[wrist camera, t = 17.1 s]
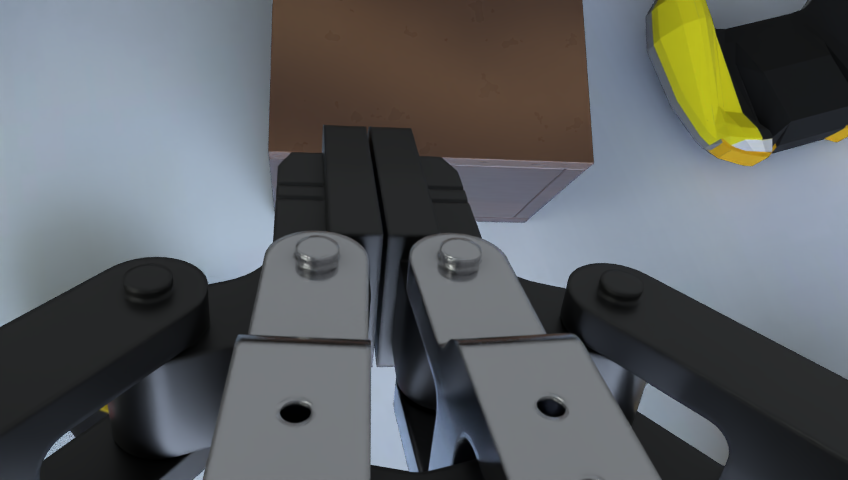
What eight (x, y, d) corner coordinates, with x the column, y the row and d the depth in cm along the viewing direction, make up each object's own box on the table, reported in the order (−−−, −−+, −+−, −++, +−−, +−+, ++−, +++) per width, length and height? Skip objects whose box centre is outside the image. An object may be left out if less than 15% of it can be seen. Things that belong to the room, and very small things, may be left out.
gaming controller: (611, 26, 44) (673, 190, 42) (653, -28, 39) (727, 157, 37) (831, -24, 47) (897, 127, 45) (898, -80, 42) (976, 89, 40)
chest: (282, -67, 42) (278, -191, 33) (512, -48, 44) (564, -161, 35) (274, 217, 38) (268, 159, 30) (525, 222, 40) (586, 170, 32)
